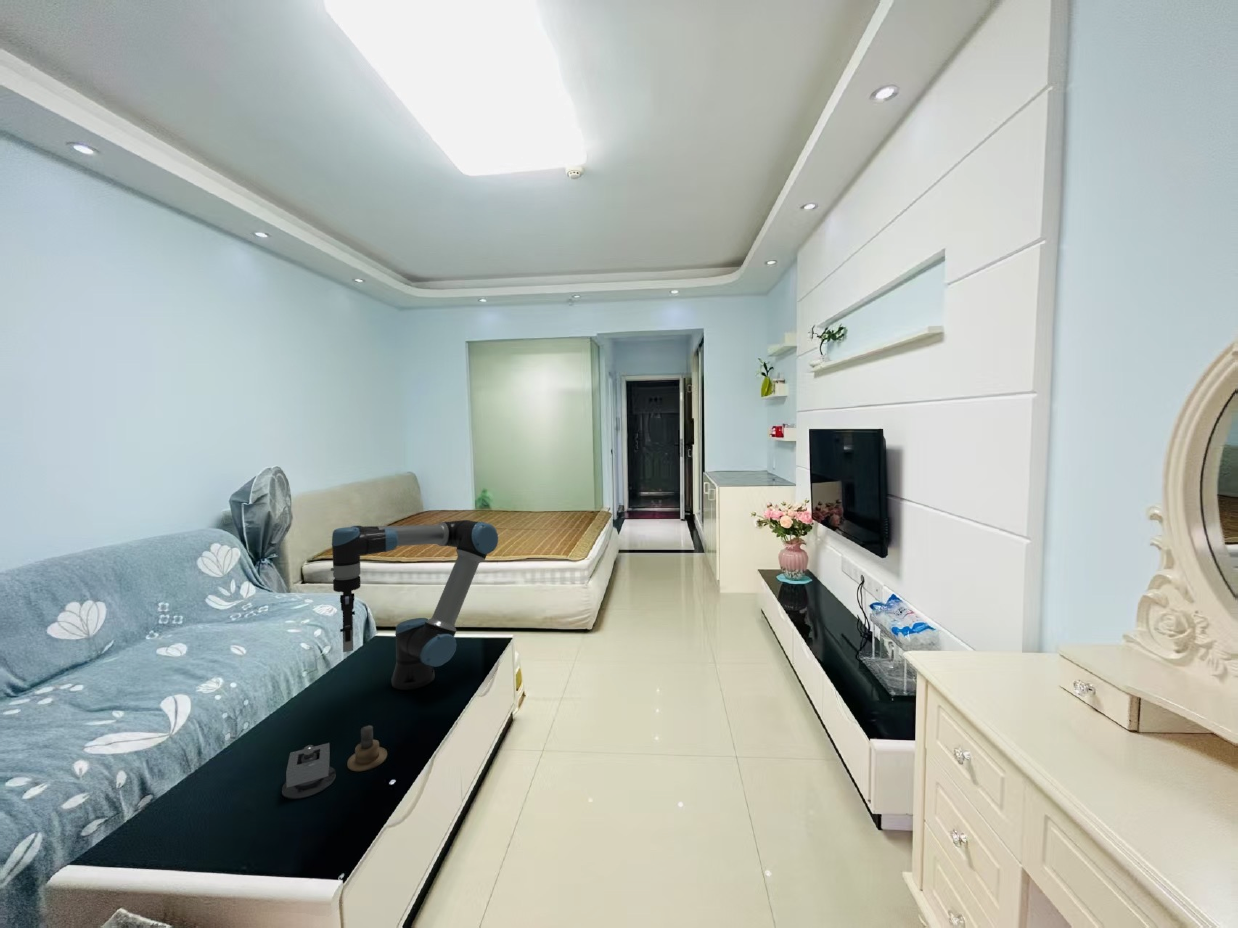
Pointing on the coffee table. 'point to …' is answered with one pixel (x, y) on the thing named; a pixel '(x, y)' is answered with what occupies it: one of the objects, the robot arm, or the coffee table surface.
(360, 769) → the stand
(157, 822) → the coffee table surface
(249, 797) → the coffee table surface
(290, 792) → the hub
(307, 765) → the collar
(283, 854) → the coffee table surface
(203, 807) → the coffee table surface
